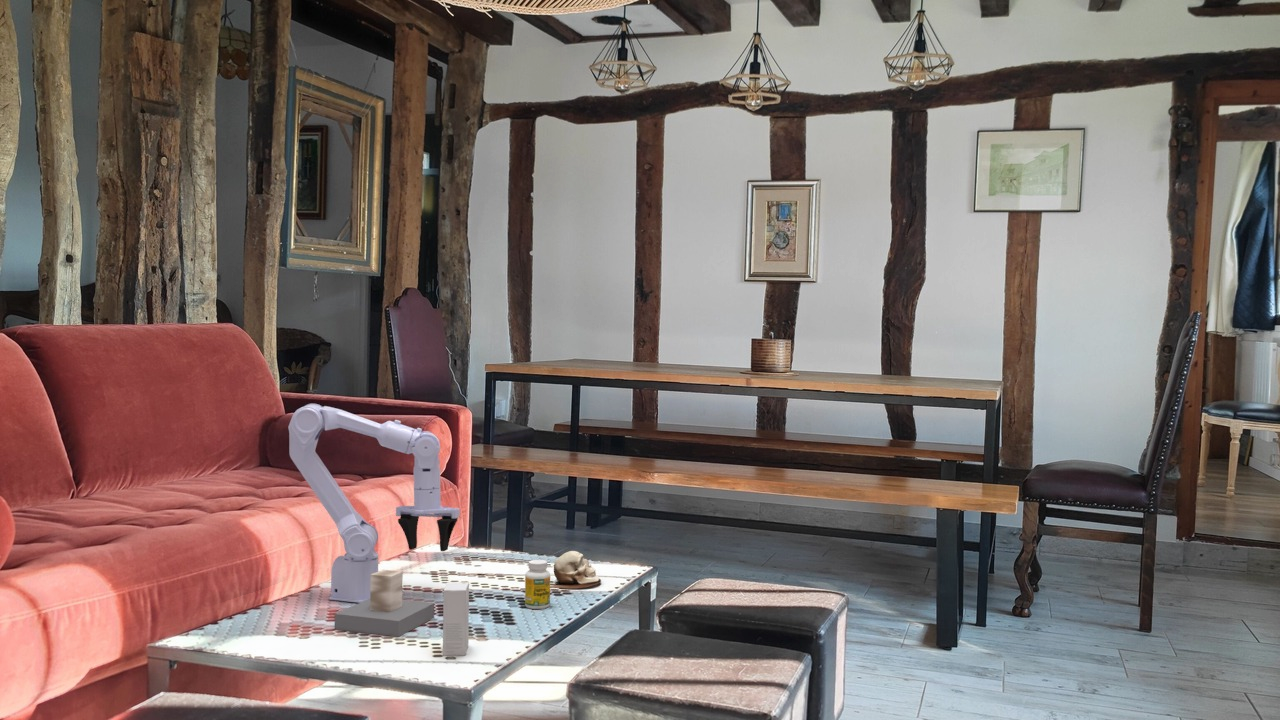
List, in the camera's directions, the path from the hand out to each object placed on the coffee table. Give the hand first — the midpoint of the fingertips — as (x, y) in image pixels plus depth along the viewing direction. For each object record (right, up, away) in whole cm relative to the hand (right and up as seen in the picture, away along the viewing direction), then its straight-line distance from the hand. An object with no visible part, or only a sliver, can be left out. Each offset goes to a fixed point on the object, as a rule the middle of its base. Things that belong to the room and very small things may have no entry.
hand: (428, 549), depth 224 cm
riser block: (-4, -11, -21) cm, 24 cm away
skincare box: (+13, -12, -37) cm, 41 cm away
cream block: (-4, -8, -21) cm, 23 cm away
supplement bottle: (+24, -11, -5) cm, 27 cm away
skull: (+31, -11, +15) cm, 37 cm away
